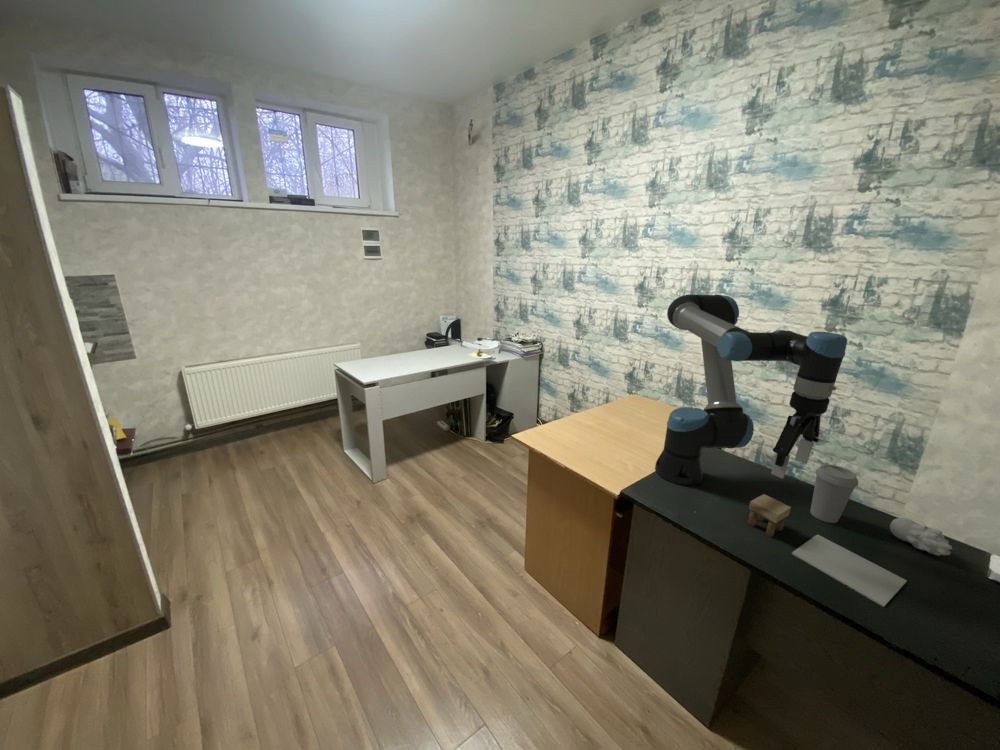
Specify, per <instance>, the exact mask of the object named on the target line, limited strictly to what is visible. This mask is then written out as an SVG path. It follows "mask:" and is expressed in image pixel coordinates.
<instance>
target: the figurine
mask: <svg viewBox="0 0 1000 750" xmlns="http://www.w3.org/2000/svg"><path fill="white" fill-rule="evenodd" d="M889 529H890V532H891V534H893V536H894V537H896V538H897V539H899V540H901V541H903V542H906V543H909V544H911V545H912V546H913V548H915V549H917V550H920V551H926V552H927V553H929V554H930V555H934V556H938V557H940V556H950V555H951V554H952V553H951V551H950V550H953V546H952V545H951V544H950V542H949V540H947V539H946V538H945V536H946V535H944V534H943V531H942V530H940V529H937V528H932V527H929V526H927V525H924V524H923V525H922V524H919V523H917V522H916V521H914V520H912V519H909V518H907V517H896V518H894V519H893V520H892V521H891V522H890V525H889Z"/></svg>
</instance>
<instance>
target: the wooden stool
mask: <svg viewBox="0 0 1000 750" xmlns="http://www.w3.org/2000/svg"><path fill="white" fill-rule="evenodd" d="M748 509H749V510H750V512H749V516H748V520H747V525H748V526H750V527H756V524H757V521H760V522H765V519H767V520H768V521H767V522H768V523H767V526H766V530H765V535H766V536H767V537H769V538H773V537H774V535H775V531H778V532H783V530H784V526H785V521H786V518H787V517H788V516H789V515H790V512H791V509H792V507H791V506H790V505H787V504H785V503H784V502H782V501H779V500H777V499H775V498H773V497H771V496H769V495H767V494H765V493H763V494H761V495H760V496H757V497H756V498H754V499H752V500H750V503H749V506H748Z"/></svg>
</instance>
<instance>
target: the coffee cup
mask: <svg viewBox="0 0 1000 750" xmlns="http://www.w3.org/2000/svg"><path fill="white" fill-rule="evenodd" d="M814 473H815V475H816V476H815V483H814V489H813V495H812V499H811V500H812V501H811V505H810V511H809V512H810V514H811V515H812V516H813V517H814V518H816V519H818V520H819V521H822V522H825V523H830V524H836V523H838V522H839V521H840V518H841V516H842V514H843V512H844V510H845V508H846V506H847V504H848V502H849V500H850V499H851V496H852V494H853V492H854V490H855V488H856V487H858V486H859V480H858V478H857V474H856V473H855V472H853V471H851V470H850V469H848V468H845V467H843V466H839V465H837V464H836V465H835V464H829V463H828V464H827V463H826V464H821V465H819V467H817V468H816V469H815V472H814Z"/></svg>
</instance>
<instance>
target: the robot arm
mask: <svg viewBox="0 0 1000 750" xmlns="http://www.w3.org/2000/svg"><path fill="white" fill-rule="evenodd" d="M666 314H667V315H666V316H667V320H668V322H669V323H670V324H671V325H672V326H673V327H674V328H676V329H678V330H681V331H688V332H690V333H692V334H693V335H695V336H697V337H699V338H700V340H701V342H700V343H701V350H702V358H703V359H702V360H703V368H704V369H703V370H704V378H705V387H706V395H707V397H706V398H707V405H706V406H705V407H704V408H703V409H702V408H698V407H693V406H684V407H678V408H675V409H673V410H672V411H671V412H670V413H669V416H668V420H667V422H666V432H665V439H664V445H663V449H662V451H661V453H660V454H659V456H658V458H657V460H656V462H655V466H654V470H655V472H656V474H657V475H658V476H659V477H661V479H664V480H666V481H668V482H670V483H673V484H677V485H680V486H681V485H683V486H695V485H698V484H700V483H701V482H702V481H703V476H704V471H703V465H702V459H701V456H702V451H703V449H730V450H731V449H735V448H736V449H738V448H740V449H741V448H743V447H745V446H747V445H749V443H750V441H752V438H753V435H754V431H755V428H754V427H755V426H754V421H753V419H752V418H751V416H750V415H749V414H747V413H745V412H744V409H743V408H744V407H743V406H742V405H740V404H739V403H738V402H737V395H736V387H735V377H734V369H733V362H756V361H757V362H760V361H761V362H764V361H765V362H788V363H791V364H793V365H797V366H798V367H799V368H798V372H797V374H796V377H795V381H794V384H793V388H792V389H793V392H792V393H791V395H790V400H789V403H788V404H789V406H790V407H791V408H793V409H794V410H795V412H794V413H793V415H788V416H787V420H786V422H785V425H784V427H783V429H782V431H781V433H780V435H779V437H778V440H777V442H776V444H775V446H774V447H773V448H772V451H773V452H774V453H776V455H775V458H774V462H773V464H772V468H771V472H770V474H771V475H773V476H775V477H778V478H780V479H782V480H783V479H784V478H785V476H786V472H787V468H788V464H789V461H790V457H791V454H790V453H791V452H792V449H793V448H794V446H795V445H796V443H797V441H798V440H799V438H800V436H801V435H802V438H800V441H799V442H798V447H797V451H796V454H795V457H794V461H796V462H799V463H801V464H805V465H807V464H808V462H809V459H810V455H811V452H812V449H813V445H814V442H815V443H819V440H820V439H819V437H820V429H821V428H820V427H821V418H822V417H821V415H822V414H823V415H824V414H825V413H827V412H828V407H829V404H830V401H831V400H830V399H829V398H831V396H832V394H833V391H836V390H837V387H836V386H835V383H836V381H837V378H838V374H839V372H840V368H841V365H842V362H843V360H844V358H845V356H846V350H847V349H846V348H847V343H848V339H847V337H846V336H845V335H843V334H840V333H835V332H829V331H812V332H810V333H808V335H803V334H800V333H797V332H794V331H791V330H783V329H776V330H773V331H772V332H759V331H758V332H755V331H754V332H751V331H748V330H745V329H743V328H741V327H739V326H737V325H736V324H737V323H738V321H739V319H738V318H739V317H740V309H739V305H738V303H737V301H736V300H735V299H734V298H733V297H731V296H729V295H721V294H685V295H681V296H679V297H677V298H676V299H674V300H672V301H671V302H670V304H669V306H668V309H667V313H666Z"/></svg>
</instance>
